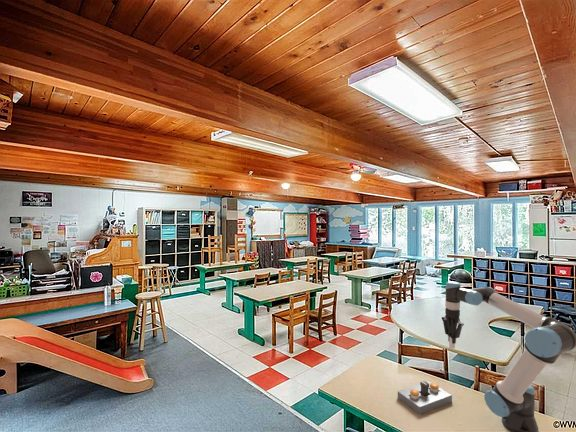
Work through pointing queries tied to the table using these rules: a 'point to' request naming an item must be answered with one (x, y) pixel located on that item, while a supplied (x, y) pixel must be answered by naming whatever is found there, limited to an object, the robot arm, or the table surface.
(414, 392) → the knob near
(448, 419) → the table surface
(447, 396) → the panel
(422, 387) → the dial
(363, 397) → the table surface
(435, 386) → the knob far
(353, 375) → the table surface
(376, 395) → the table surface
